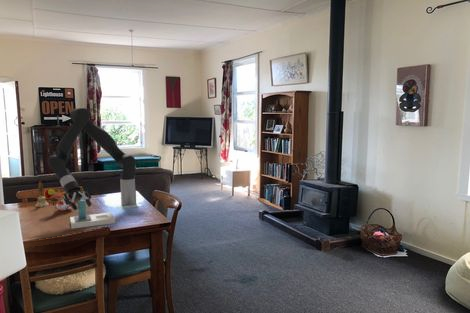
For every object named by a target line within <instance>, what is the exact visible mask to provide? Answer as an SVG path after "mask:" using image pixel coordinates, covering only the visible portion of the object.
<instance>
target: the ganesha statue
mask: <svg viewBox="0 0 470 313" xmlns="http://www.w3.org/2000/svg"><path fill="white" fill-rule="evenodd" d="M64 194H66V192H65V191H63V192H60V189H58V188H53V187H52V189H49V188H47V189H45V191H43V197H45V199H47V200H50V202H51V205H52V206H53V207H54V206H55V207H54V209H55V210H56V209H57V210H56V212H59V211H60V212H64V211H67V210H69V209H71V208H72V206H71V205H66V203H65V201H64V199H63V195H64ZM68 199H69V200H71V198H69V197H68Z"/></svg>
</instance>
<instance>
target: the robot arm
mask: <svg viewBox="0 0 470 313" xmlns="http://www.w3.org/2000/svg"><path fill="white" fill-rule="evenodd" d="M69 116H70V120H71V121H72V124H71V126H70V127H69V129H68V130H67V131H66V132H65V134H64V135H63V136H62V137H61V139H60V141H59V143H58V145H57V147H56V151H57V155H55V154H53V155H50V156H49V157H48V159H47V163H48V166H49V168H50V169H51V171H52V172H53V173H54V175H56V177H57V179H58V181H59V183H60V185H61V188H63V190H64V192H65V194H64V195H63V199H64V201H65V203H66V205H71V206H72V207H71V208H72V210H74V211H78V205H76V203H75V201H78V200H86V206H87V207H88V208H90V207H91V206H92V201H91V198H92V196H91V194H90V193H89V192H88V190H87V189H84V190H81V187H80V185H79V183H78V182H77V180H76V179H75V177H74V176H73V175H72V173H71V171H70V169H68V168H67V167H66V165H67V163H68V159H69V154H70V152H71V151H72V148H73V146H74V145H75V142H76V140H77V138H78V136H80V134H81V132H82V130H83V131H84V132H85V133H86V134H87V135H88V136H89V137H90V138H91V139H92V140H93V141H94V142H95V143H96V144H97V145H98V146H99V147H100V148H101V149H103V151H105V152H106V153H107V154H108V155H110V157H112V159H113V160H114V161H115V162H116V163H117V165H118V166H119V167H120V168H122V173H121V174H120V178H119V179H120V203H121V205H122V206H132V205H136V204H137V190H136V182H135V181H136V179H135V178H136V173H137V170H136V169H137V163H136V162H137V161H136V159H135V157H134V156H133V155H130V154H126V153H125V152H123V150H122V149H120V148H119V146H118V145H117V142H116V141H115V139H114V138H113V137H112V135H110V133H109V132H108V131H107V130H105V129H103V128H102V127H100V126H99V125H97V124H95V123H94V122H93V121H92V120H91V119H90V118H91V112H90V110H89V109H88V108H86V107H77V108H74V109H72V110H71V111H70V114H69ZM68 197H69V198H71V200H69V199H68Z"/></svg>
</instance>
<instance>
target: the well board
mask: <svg viewBox="0 0 470 313" xmlns="http://www.w3.org/2000/svg"><path fill="white" fill-rule="evenodd" d="M89 215H90V217H91V221H83V222H75V219H74V217H78V215H77V216H70V217H69V220H70V226H71V229H79V228H87V227H94V226H95V227H96V226H102V225H111V224H115V223H116V217H115V216H114V214H113V213H112V212H111V211H110V212H103V213H95V214H93V213H92V214H89ZM86 216H87V214H86Z"/></svg>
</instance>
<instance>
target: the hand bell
mask: <svg viewBox="0 0 470 313" xmlns="http://www.w3.org/2000/svg"><path fill="white" fill-rule="evenodd" d="M37 186H38V191H39V197H37V201H36V204H35V206H34V207H36V208H44V207H48V206H49V205H50V204H49V203H48V202H47V200H46V198H45V196H44V193H43V188H44V185H43V183H42V181H39V182H38V185H37Z"/></svg>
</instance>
